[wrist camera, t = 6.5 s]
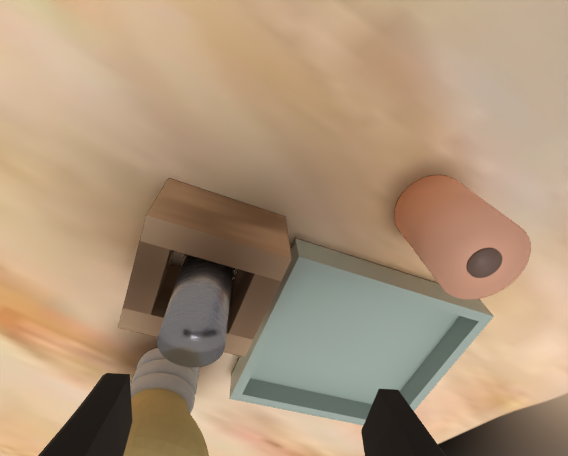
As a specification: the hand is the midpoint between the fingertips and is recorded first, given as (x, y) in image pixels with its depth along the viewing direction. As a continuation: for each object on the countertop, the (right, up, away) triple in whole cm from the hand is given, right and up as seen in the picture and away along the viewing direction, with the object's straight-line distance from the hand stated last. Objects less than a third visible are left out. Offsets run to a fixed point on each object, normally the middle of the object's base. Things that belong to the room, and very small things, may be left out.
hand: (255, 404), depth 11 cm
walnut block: (-3, +4, +9) cm, 10 cm away
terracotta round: (+8, +6, +8) cm, 13 cm away
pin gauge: (-3, +4, +9) cm, 10 cm away
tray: (+5, -2, +12) cm, 13 cm away
